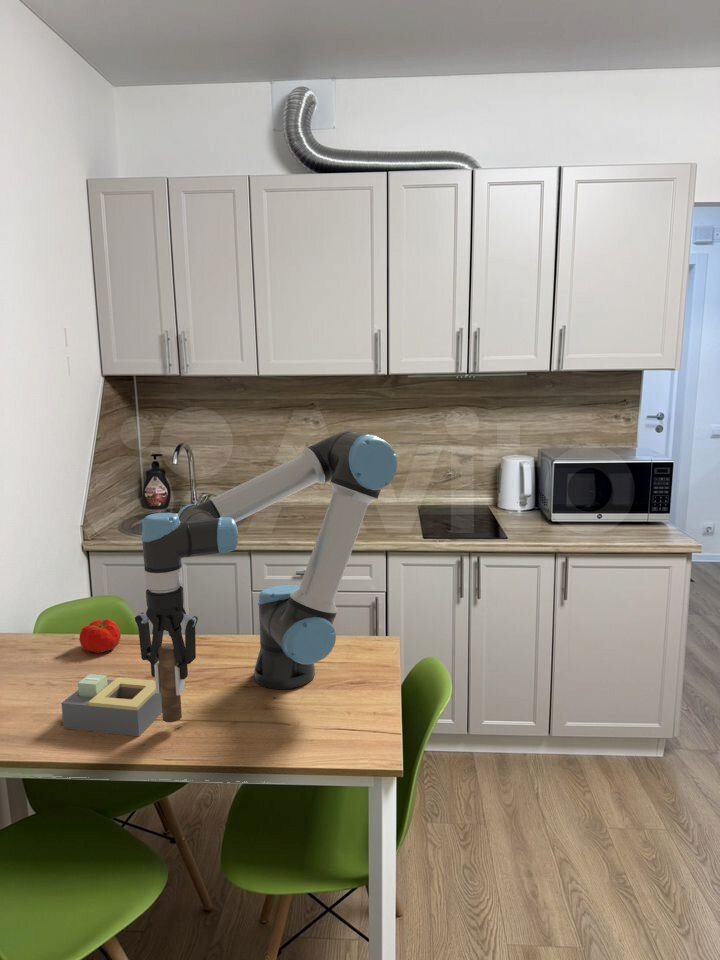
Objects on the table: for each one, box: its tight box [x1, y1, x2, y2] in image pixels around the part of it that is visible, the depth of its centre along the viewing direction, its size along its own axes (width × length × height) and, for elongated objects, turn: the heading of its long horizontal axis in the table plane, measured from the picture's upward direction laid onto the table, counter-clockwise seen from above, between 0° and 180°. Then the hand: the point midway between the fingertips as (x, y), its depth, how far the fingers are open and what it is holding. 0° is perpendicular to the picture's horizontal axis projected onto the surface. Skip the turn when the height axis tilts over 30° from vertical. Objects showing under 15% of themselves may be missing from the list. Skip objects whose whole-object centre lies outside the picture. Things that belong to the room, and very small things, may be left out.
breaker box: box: [61, 676, 162, 737], centre depth 158 cm, size 18×12×7 cm, turn 78°
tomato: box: [78, 618, 121, 654], centre depth 196 cm, size 11×11×8 cm
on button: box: [77, 673, 108, 698], centre depth 159 cm, size 4×4×4 cm
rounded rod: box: [158, 643, 183, 723], centre depth 152 cm, size 4×4×16 cm
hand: (170, 691), depth 152 cm, fingers closed on rounded rod, 4 cm apart
